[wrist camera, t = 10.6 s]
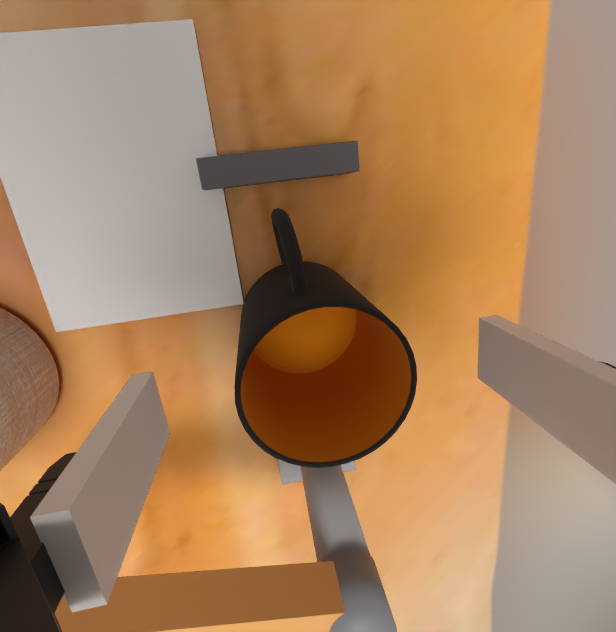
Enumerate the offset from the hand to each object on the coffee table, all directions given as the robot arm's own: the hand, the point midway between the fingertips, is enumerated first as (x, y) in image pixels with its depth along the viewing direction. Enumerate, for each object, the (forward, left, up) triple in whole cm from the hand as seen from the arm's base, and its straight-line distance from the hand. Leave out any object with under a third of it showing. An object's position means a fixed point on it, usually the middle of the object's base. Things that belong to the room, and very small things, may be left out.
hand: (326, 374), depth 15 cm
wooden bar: (+10, -6, -1) cm, 12 cm away
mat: (-8, -10, -12) cm, 17 cm away
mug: (0, 0, -12) cm, 12 cm away
